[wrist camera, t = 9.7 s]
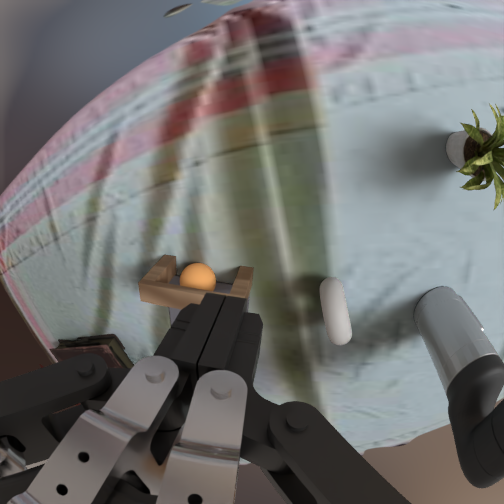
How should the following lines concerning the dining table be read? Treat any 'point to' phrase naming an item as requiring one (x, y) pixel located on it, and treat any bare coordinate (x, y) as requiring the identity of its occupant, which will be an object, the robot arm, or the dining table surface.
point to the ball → (198, 277)
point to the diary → (95, 350)
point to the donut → (335, 311)
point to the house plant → (479, 155)
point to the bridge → (179, 297)
